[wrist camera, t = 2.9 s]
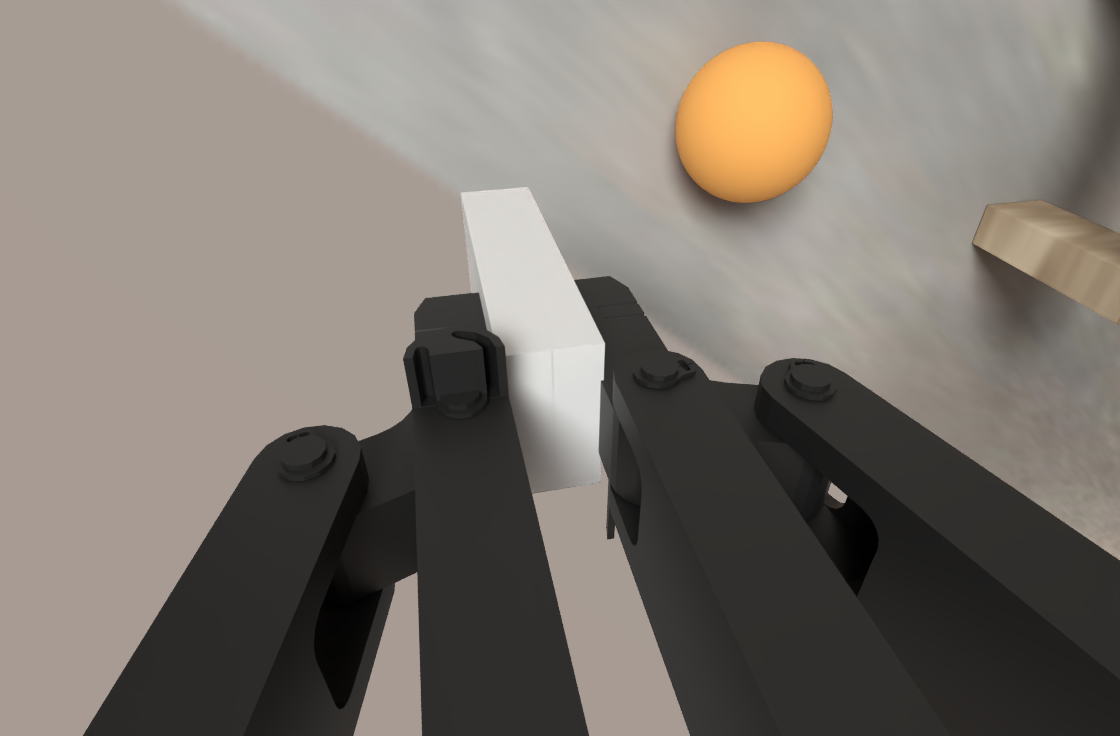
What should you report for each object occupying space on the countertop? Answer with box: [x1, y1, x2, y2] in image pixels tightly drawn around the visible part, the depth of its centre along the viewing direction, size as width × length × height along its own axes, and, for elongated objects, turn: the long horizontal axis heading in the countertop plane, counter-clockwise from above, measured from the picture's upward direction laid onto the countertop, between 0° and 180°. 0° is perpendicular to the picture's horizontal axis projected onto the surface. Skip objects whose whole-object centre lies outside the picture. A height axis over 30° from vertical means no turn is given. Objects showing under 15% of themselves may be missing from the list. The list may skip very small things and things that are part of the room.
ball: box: [675, 42, 833, 203], centre depth 23 cm, size 6×6×6 cm
